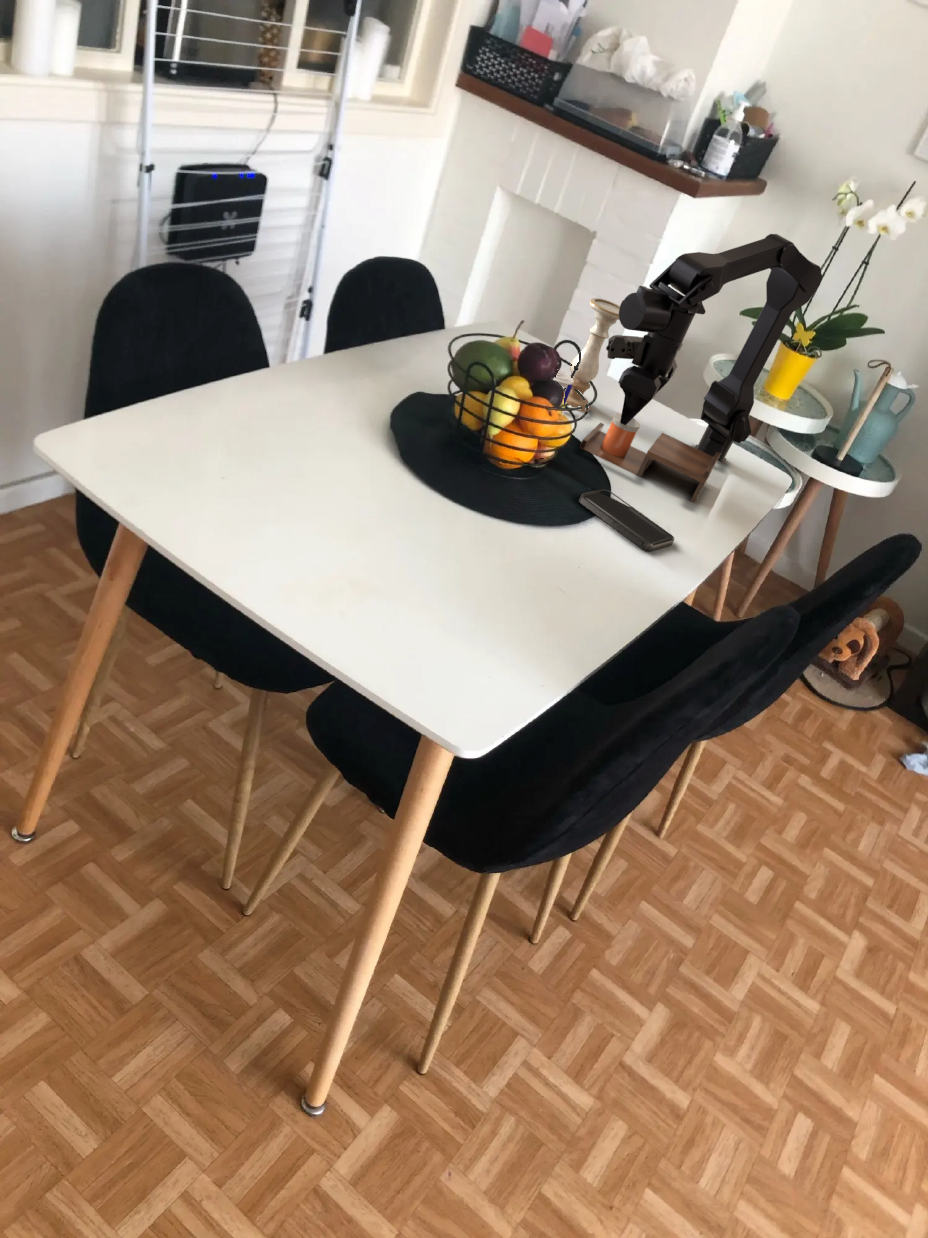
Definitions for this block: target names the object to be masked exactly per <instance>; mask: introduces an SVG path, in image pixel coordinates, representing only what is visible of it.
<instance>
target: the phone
mask: <svg viewBox="0 0 928 1238" xmlns="http://www.w3.org/2000/svg"><path fill="white" fill-rule="evenodd" d="M602 492H608V493H610V494H611V495H613V496H614V497H616V498H617V499H618V500H617V499H615V498H613V497H611V496H608V495H606V494H605V493H602ZM619 500H620V501H619ZM578 502H579V503H580V505H582V506H583V507H585V508H586V509H588V510H589V511H590V512H592V513H593V514H594V515H596V516H597V517H599V518H600V519H601V520H603V521H604V523H605V522H606V523H607V524H608V525H609V526H610V527H612V528H614V529H615V530H616V531H617V532H619V533H620V534H622V535H623V536H624V537H626V538H627V539H628V540H630V541H631V542H632V543H634V544H635V545H636V546H637V547H639V548H640V549H642V550H644V551H647V552H654V551H657V550H661V549H664V548H667V547H671V546H672V545H673V542H674V541H675V536H674V535H672V533H670V532H668V531H667V530H665V529H664V528H663V527H661V526H660V525H659V524H658V523H655V522H654V521H653V520H652V519H651V518H649V517H647V516H646V515H645V514H643V513H642V512H640V511H639V510H637V509H636V508H635V507H633V506H632V505H631V504H629V503H628V502H627V501H625V500H623V499H622V498H621V497H620V496H618V495H616V494H615V493H614V492H612V491H611V490H609V489H605V488H604V489H597V490H593V491H592V490H591V491H588V492H583V493H581V494H580V496H579V499H578Z"/></svg>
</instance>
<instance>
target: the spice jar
mask: <svg viewBox="0 0 928 1238" xmlns="http://www.w3.org/2000/svg"><path fill="white" fill-rule="evenodd" d="M621 415H622V413H614V415H613V417H612V418H611V422H610V425H609V427H608V428H607V431H606V432H605V434H606V436H605V438H604V440H603V442H602V444H601V446H602V448H603V449H604V450H605V451H606V452H608V453H610V454H612V455H614V456H618V457H625V456H626V455H627V452H628V450H629V448H630V446H632V443H633V442H634V439H635V437H636V436H637V434H638V432H639V431H640V428H641V423H640V422H639V421H638V420H637V419H635V417H634V418H633V419H632V420H631V421H630V422H629V423H627V424H626V425H623V424H621V423H620V420H621Z"/></svg>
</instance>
